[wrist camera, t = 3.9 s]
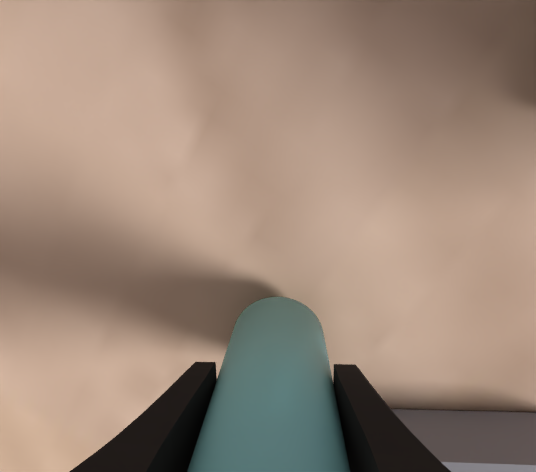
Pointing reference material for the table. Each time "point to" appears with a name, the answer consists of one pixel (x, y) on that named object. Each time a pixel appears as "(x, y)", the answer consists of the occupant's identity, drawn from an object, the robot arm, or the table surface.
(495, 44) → the table surface
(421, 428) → the socket board
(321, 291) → the table surface
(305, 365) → the peg
